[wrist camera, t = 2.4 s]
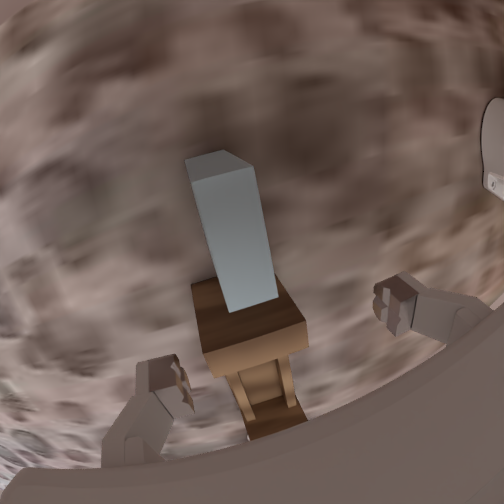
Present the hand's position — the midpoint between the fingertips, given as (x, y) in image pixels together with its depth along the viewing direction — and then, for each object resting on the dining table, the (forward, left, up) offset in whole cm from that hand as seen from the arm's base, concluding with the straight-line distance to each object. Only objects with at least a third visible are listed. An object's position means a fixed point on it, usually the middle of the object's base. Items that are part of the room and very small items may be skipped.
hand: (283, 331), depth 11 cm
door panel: (0, 0, -18) cm, 18 cm away
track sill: (-11, +16, -18) cm, 26 cm away
